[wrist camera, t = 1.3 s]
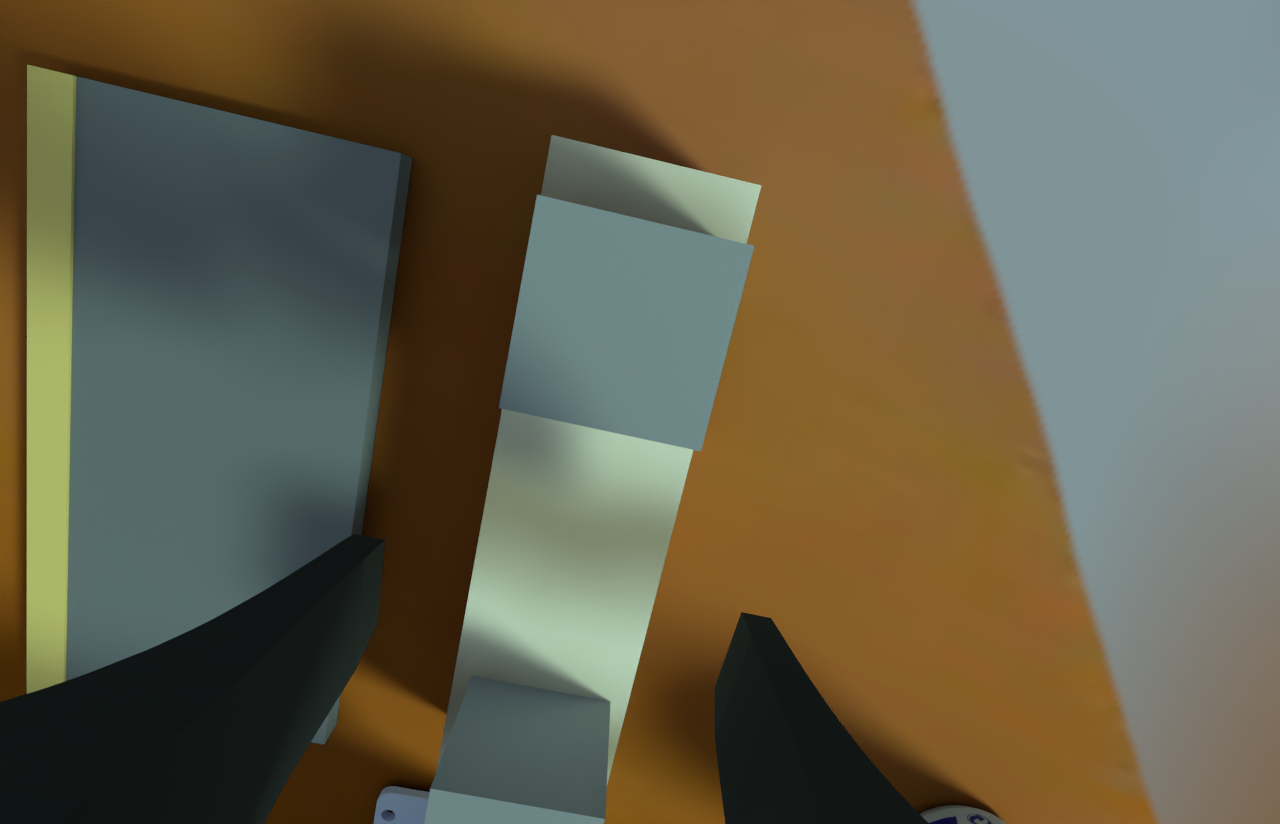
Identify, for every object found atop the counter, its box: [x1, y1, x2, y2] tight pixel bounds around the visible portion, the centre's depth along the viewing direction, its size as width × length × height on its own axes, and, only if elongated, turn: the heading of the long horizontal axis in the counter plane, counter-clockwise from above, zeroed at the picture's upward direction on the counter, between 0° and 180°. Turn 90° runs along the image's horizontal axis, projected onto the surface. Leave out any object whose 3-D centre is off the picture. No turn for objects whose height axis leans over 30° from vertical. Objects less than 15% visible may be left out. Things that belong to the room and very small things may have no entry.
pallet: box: [436, 135, 761, 783], centre depth 20 cm, size 20×5×4 cm, turn 167°
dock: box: [27, 65, 412, 744], centre depth 21 cm, size 20×10×1 cm, turn 167°
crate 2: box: [499, 195, 754, 451], centre depth 14 cm, size 4×4×4 cm
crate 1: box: [424, 676, 611, 824], centre depth 17 cm, size 4×4×4 cm
